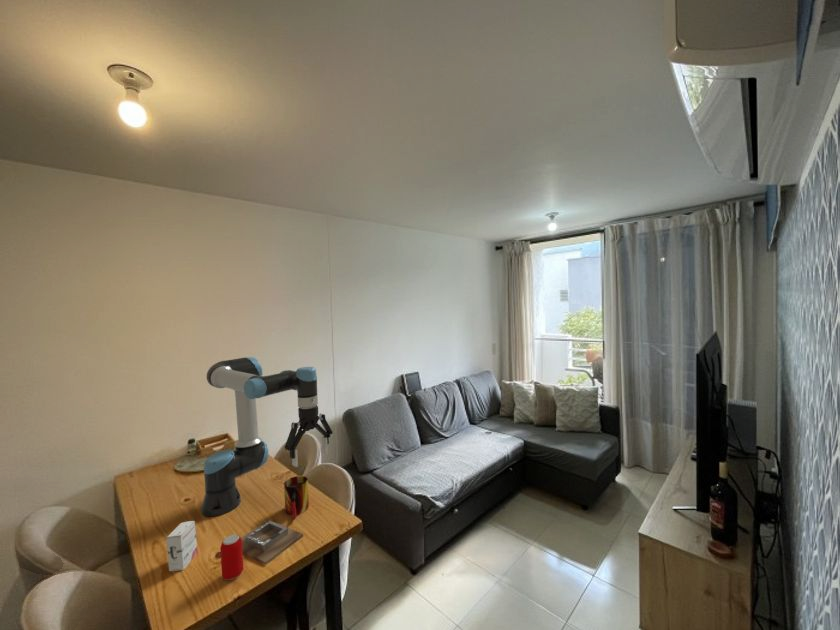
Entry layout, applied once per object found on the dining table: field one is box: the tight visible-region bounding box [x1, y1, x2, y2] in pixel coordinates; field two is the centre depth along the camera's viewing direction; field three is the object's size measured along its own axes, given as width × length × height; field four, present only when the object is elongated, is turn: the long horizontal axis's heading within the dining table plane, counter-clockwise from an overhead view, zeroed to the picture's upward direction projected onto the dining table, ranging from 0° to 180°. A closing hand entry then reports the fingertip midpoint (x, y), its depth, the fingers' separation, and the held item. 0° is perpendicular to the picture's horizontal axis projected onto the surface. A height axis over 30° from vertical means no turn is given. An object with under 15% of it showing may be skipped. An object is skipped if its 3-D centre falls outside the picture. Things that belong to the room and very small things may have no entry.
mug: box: [283, 475, 310, 520], centre depth 144 cm, size 10×14×12 cm
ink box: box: [165, 520, 198, 572], centre depth 117 cm, size 9×5×12 cm, turn 5°
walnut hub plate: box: [240, 519, 304, 566], centre depth 125 cm, size 20×16×1 cm
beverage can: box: [219, 534, 244, 581], centre depth 110 cm, size 6×6×12 cm
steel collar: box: [245, 520, 289, 552], centre depth 125 cm, size 10×10×3 cm
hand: (310, 459), depth 134 cm, fingers open, 13 cm apart
